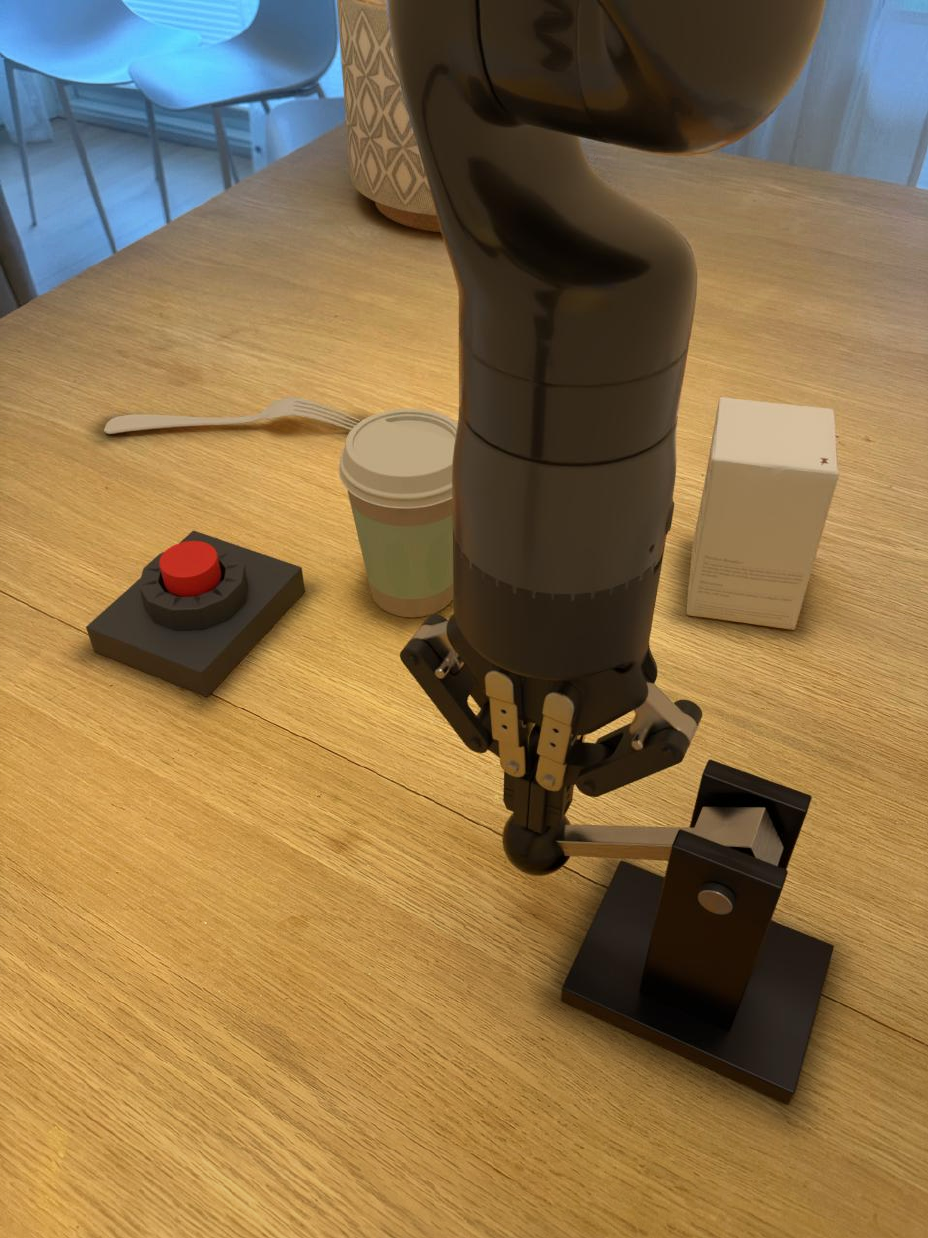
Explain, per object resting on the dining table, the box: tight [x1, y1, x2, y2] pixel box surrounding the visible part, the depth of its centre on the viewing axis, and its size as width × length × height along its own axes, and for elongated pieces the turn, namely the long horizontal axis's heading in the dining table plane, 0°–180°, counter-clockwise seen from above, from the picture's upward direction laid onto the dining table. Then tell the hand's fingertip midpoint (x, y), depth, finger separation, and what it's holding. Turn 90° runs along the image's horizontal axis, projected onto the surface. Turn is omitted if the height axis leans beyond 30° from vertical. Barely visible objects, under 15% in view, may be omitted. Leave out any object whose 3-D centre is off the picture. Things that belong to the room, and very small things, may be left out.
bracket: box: [560, 759, 835, 1105], centre depth 47 cm, size 11×8×13 cm
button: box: [159, 541, 221, 597], centre depth 67 cm, size 4×4×2 cm
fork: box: [103, 396, 361, 435], centre depth 87 cm, size 3×21×3 cm, turn 91°
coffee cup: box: [338, 408, 458, 618], centre depth 68 cm, size 9×9×12 cm
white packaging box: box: [686, 396, 840, 630], centre depth 68 cm, size 7×7×13 cm
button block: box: [85, 530, 306, 698], centre depth 68 cm, size 11×9×4 cm
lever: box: [501, 807, 783, 877], centre depth 47 cm, size 13×3×3 cm, turn 63°
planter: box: [336, 0, 441, 233], centre depth 115 cm, size 26×26×22 cm
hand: (537, 815), depth 49 cm, fingers closed
